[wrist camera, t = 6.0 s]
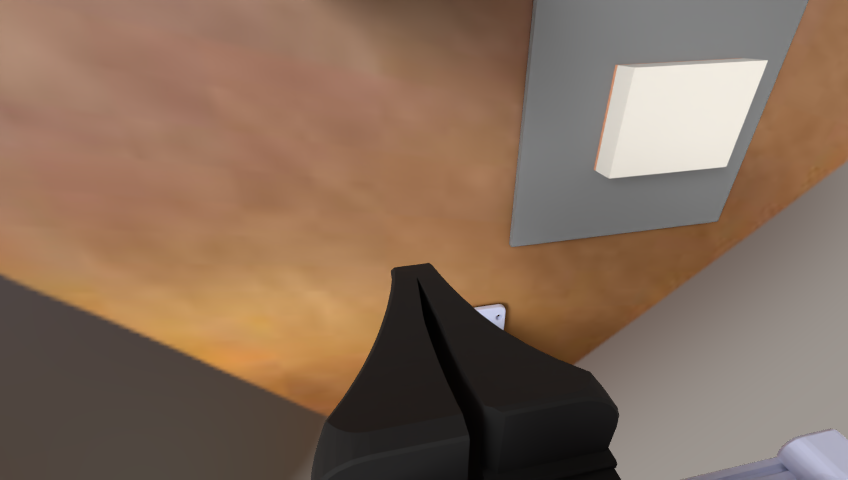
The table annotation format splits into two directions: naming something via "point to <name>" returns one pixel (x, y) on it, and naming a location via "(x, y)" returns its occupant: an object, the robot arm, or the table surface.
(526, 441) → the robot arm
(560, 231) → the mat
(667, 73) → the tile
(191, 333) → the table surface
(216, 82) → the table surface
